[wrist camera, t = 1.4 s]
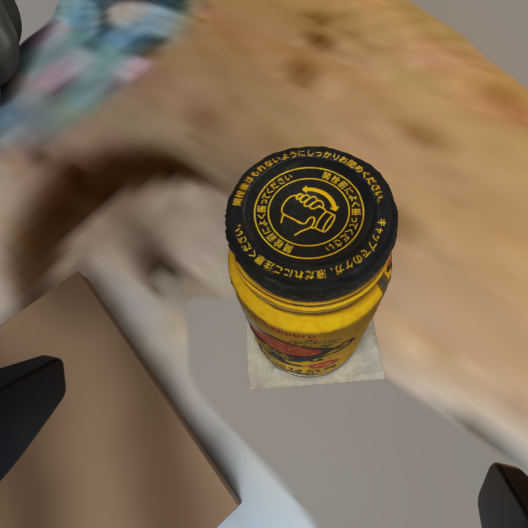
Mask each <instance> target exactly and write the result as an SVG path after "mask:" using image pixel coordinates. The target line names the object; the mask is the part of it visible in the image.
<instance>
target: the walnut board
mask: <svg viewBox="0 0 528 528" xmlns="http://www.w3.org/2000/svg"><path fill="white" fill-rule="evenodd" d="M41 355H48V356H53V357H57V358H60V359H61V360H62V361H63V364H64V372H65V381H66V392H65V395H64V397H63V399H62V401H61V402H60V404H59V405H58V406H57V408H56V409H55V411H54V412H53V413H52V415H51V416H50V418H49V419H48V420H47V422H46V423H45V424H44V426H43V427H42V429H41V430H40V431H39V433H38V434H37V436H36V437H35V438H34V440H33V441H32V442H31V444H30V445H29V447H28V448H27V449H26V451H25V452H24V453H23V455H22V456H21V457H20V459H19V460H18V461H17V462H16V464H15V465H14V466H13V467H12V469H11V470H10V471H9V472H8V473H7V475H6V476H5V477H4V478H3V479H2V480H1V481H0V528H216V527H217V526H219V525H220V524H221V523H222V522H223V521H224V520H225V519H226V518H227V517H228V516H229V515H230V514H231V513H232V512H233V511H234V510H235V509H236V508H237V507H238V506H239V505H240V504H241V503H242V502H241V501H240V499H239V498H238V497H237V495H236V494H235V492H234V491H233V489H232V488H231V486H230V485H229V483H228V482H227V481H226V479H225V478H224V476H223V475H222V473H221V472H220V470H219V469H218V468H217V466H216V465H215V463H214V462H213V460H212V459H211V457H210V456H209V455H208V453H207V452H206V450H205V449H204V447H203V446H202V444H201V443H200V441H199V440H198V439H197V437H196V436H195V434H194V433H193V431H192V430H191V428H190V427H189V426H188V424H187V423H186V421H185V420H184V418H183V417H182V415H181V414H180V413H179V411H178V410H177V408H176V407H175V405H174V404H173V402H172V401H171V399H170V398H169V397H168V395H167V394H166V392H165V391H164V389H163V388H162V386H161V385H160V384H159V382H158V381H157V379H156V378H155V376H154V375H153V373H152V372H151V370H150V369H149V368H148V366H147V365H146V363H145V362H144V360H143V359H142V357H141V356H140V355H139V353H138V352H137V350H136V349H135V347H134V346H133V344H132V343H131V342H130V340H129V339H128V337H127V336H126V334H125V333H124V331H123V330H122V328H121V327H120V326H119V324H118V323H117V321H116V320H115V318H114V317H113V315H112V314H111V313H110V311H109V310H108V308H107V307H106V305H105V304H104V302H103V301H102V299H101V298H100V297H99V295H98V294H97V292H96V291H95V289H94V288H93V286H92V285H91V284H90V282H89V281H88V279H87V278H85V277H84V276H83V275H82V274H80V273H79V272H78V271H77V272H76V273H74V274H73V275H71V276H70V277H69V278H67V279H66V280H64V281H63V282H61V283H60V284H59V285H57V286H56V287H54V288H53V289H52V290H50V291H49V292H47V293H46V294H45V295H43V296H42V297H40V298H39V299H37V300H36V301H35V302H33V303H32V304H30V305H29V306H28V307H26V308H25V309H23V310H22V311H21V312H19V313H18V314H16V315H15V316H13V317H12V318H11V319H9V320H8V321H6V322H5V323H4V324H2V325H1V326H0V368H2V367H5V366H9V365H12V364H15V363H18V362H22V361H25V360H28V359H31V358H34V357H38V356H41Z"/></svg>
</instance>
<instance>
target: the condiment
mask: <svg viewBox="0 0 528 528" xmlns="http://www.w3.org/2000/svg"><path fill="white" fill-rule="evenodd" d="M225 218H226V220H225V225H226V231H225V233H226V239H227V241H228V243H229V245H228V246H229V248H230V250H229V254H228V265H229V273H230V279H231V284H232V285H233V287H234V289H235V291H236V295H237V298H238V300H239V302H240V305H241V307H242V309H243V311H244V313H245V317H246V340H247V362H248V389H249V390H253V389H266V388H278V387H292V386H305V385H317V384H329V383H339V382H353V381H363V380H374V379H385V376H384V371H383V367H382V362H381V357H380V352H379V348H378V343H377V337H376V333H375V328H374V323H373V316H374V314H375V312H376V310H377V307H378V305H379V303H380V301H381V299H382V297H383V295H384V294H385V291H386V289H387V286H388V283H389V282H390V279H391V271H392V256H391V251H392V249H393V248H394V245H395V242H396V238H397V228H398V221H397V220H398V211H397V207H396V204H395V202H394V199H393V195H392V192H391V190H390V188H389V185H388V183H387V182H386V181H385V179H384V178H383V177H382V175H381V173H380V172H378V171H377V170H376V169H375V168H374V167H373V166H372V165H371V164H368V163H366V162H365V161H363V160H361V159H359V158H356V157H354V156H352V155H350V154H348V153H345V152H342V151H339V150H335V149H332V148H328V147H324V146H320V147H308V146H307V147H302V148H290V149H287V150H284V151H281V152H278V153H273V154H271V155H269V156H267V157H265V158H264V159H263V160H261V161H260V162H258V163H257V164H255V165H254V166H253V167H251V168H250V169H249V170H247V171H246V172H245V173H244V174H243V175H242V177H241V179H240V180H239V182H238V184H237V185H236V187H235V189H234V191H233V193H232V194H231V196H230V197H229V200H228V204H227V209H226V215H225Z"/></svg>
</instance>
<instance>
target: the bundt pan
mask: <svg viewBox="0 0 528 528" xmlns="http://www.w3.org/2000/svg"><path fill="white" fill-rule="evenodd" d="M21 32H22V26H21V18H20V13H19V10H18V7H17V5H16V3H15V0H0V86H1V85H2V84H4V83H5V82H7V81H8V80H9V79H10V78H11V77H12V75H13V74H14V72H15V70H16V68H17V66H18V62H19V56H20V49H19V41H20V38H21ZM0 100H1V91H0Z"/></svg>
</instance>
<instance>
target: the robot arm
mask: <svg viewBox="0 0 528 528" xmlns="http://www.w3.org/2000/svg"><path fill="white" fill-rule="evenodd" d="M65 392H66V381H65V372H64V364H63V361H62V360H61V359H60V358H57V357H53V356H48V355H41V356H38V357H34V358H31V359H28V360H25V361H22V362H18V363H15V364H12V365H9V366H5V367H2V368H0V481H1V480H2V479H3V478H4V477H5V476H6V475H7V473H8V472H9V471H10V470H11V469H12V467H13V466H14V465H15V464H16V462H17V461H18V460H19V459H20V457H21V456H22V455H23V453H24V452H25V451H26V449H27V448H28V447H29V445H30V444H31V442H32V441H33V440H34V438H35V437H36V436H37V434H38V433H39V431H40V430H41V429H42V427H43V426H44V424H45V423H46V422H47V420H48V419H49V418H50V416H51V415H52V413H53V412H54V411H55V409H56V408H57V406H58V405H59V404H60V402H61V401H62V399H63V397H64V395H65ZM478 508H479V513H480V520H481V525H482V528H528V476H527V475H526V474H525V473H524V472H523V471H522V470H521V469H519V468H517V467H515V466H510V465H506V464H502V463H493V464H492V465H491V466H490V468H489V470H488V473H487V475H486V478H485V480H484V483H483V485H482V487H481V490H480V493H479V498H478Z"/></svg>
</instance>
